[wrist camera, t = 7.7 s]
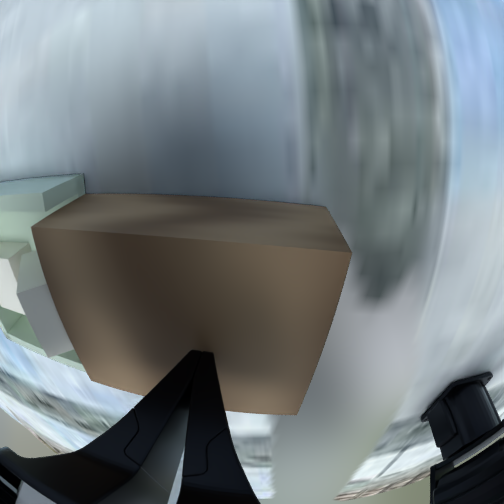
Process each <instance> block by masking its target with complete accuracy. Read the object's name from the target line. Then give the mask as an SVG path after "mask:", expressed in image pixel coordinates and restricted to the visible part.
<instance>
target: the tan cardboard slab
mask: <svg viewBox="0 0 504 504" xmlns="http://www.w3.org/2000/svg"><path fill="white" fill-rule="evenodd" d="M31 231H32V235H33V239H34V243H35V247H36V250H37V254H38V257H39V261H40V264H41V267H42V271H43V274H44V277H45V280H46V283H47V286H48V288H49V291H50V294H51V297H52V299H53V302H54V304H55V307H56V310H57V312H58V314H59V317H60V319H61V322H62V324H63V326H64V328H65V331H66V333H67V335H68V337H69V339H70V341H71V343H72V345H73V347H74V350H75V352H76V353H77V355H78V357H79V359H80V361H81V363H82V365H83V367H84V369H85V370H86V372H87V374H88V376H89V378H90V379H91V381H94V382H97V383H100V384H103V385H106V386H110V387H113V388H116V389H120V390H123V391H127V392H130V393H134V394H138V395H142V396H146V395H147V394H148V393H149V392H150V391H151V390H152V389H153V388H154V387H155V386H156V385H157V384H158V383H159V382H160V381H161V380H162V379H163V378H164V377H165V376H166V375H167V374H168V373H169V372H170V371H171V370H172V369H173V368H174V367H175V366H176V364H177V363H178V362H179V361H180V360H181V359H182V358H183V357H184V356H185V355H186V354H187V353H188V352H189V351H190V350H200V351H202V352H203V351H207V352H213V353H214V357H215V363H216V368H217V373H218V378H219V383H220V388H221V393H222V398H223V403H224V408H225V411H233V412H243V413H256V414H273V415H297V413H298V411H299V409H300V407H301V404H302V402H303V399H304V397H305V394H306V392H307V390H308V387H309V385H310V382H311V380H312V377H313V375H314V372H315V369H316V367H317V364H318V361H319V358H320V356H321V353H322V350H323V348H324V345H325V342H326V339H327V336H328V333H329V330H330V327H331V324H332V321H333V317H334V315H335V312H336V308H337V305H338V302H339V299H340V295H341V292H342V288H343V285H344V281H345V278H346V274H347V271H348V267H349V263H350V259H351V255H352V252H351V250H350V248H349V246H348V244H347V242H346V241H345V239H344V237H343V235H342V234H341V232H340V230H339V228H338V226H337V225H336V223H335V221H334V220H333V218H332V216H331V214H330V213H329V211H328V209H327V208H326V207H322V206H313V205H304V204H295V203H285V202H274V201H263V200H251V199H237V198H223V197H207V196H187V195H162V194H84V195H82V196H80V197H79V198H77V199H75V200H73V201H72V202H70V203H68V204H66V205H65V206H63V207H61V208H60V209H58V210H56V211H55V212H53V213H52V214H50V215H48V216H47V217H45V218H44V219H42V220H40V221H39V222H37V223H36V224H34V225H33V226H31Z"/></svg>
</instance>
